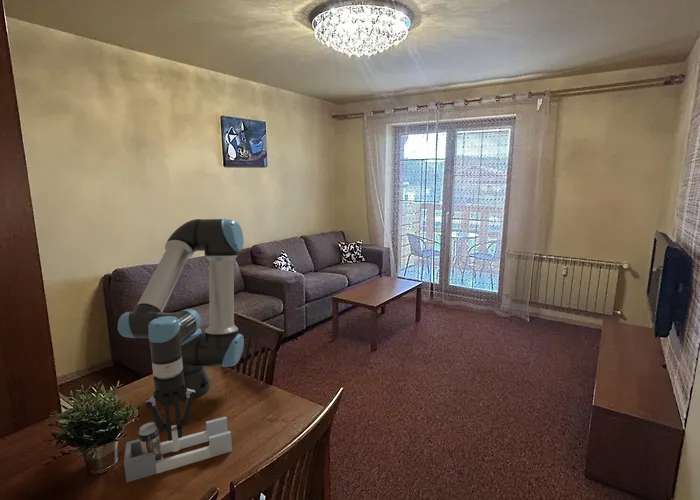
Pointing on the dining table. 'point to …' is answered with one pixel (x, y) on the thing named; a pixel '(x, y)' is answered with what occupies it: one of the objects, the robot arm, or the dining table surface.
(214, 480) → the dining table surface
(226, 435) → the end-cap channel
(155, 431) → the beer can
